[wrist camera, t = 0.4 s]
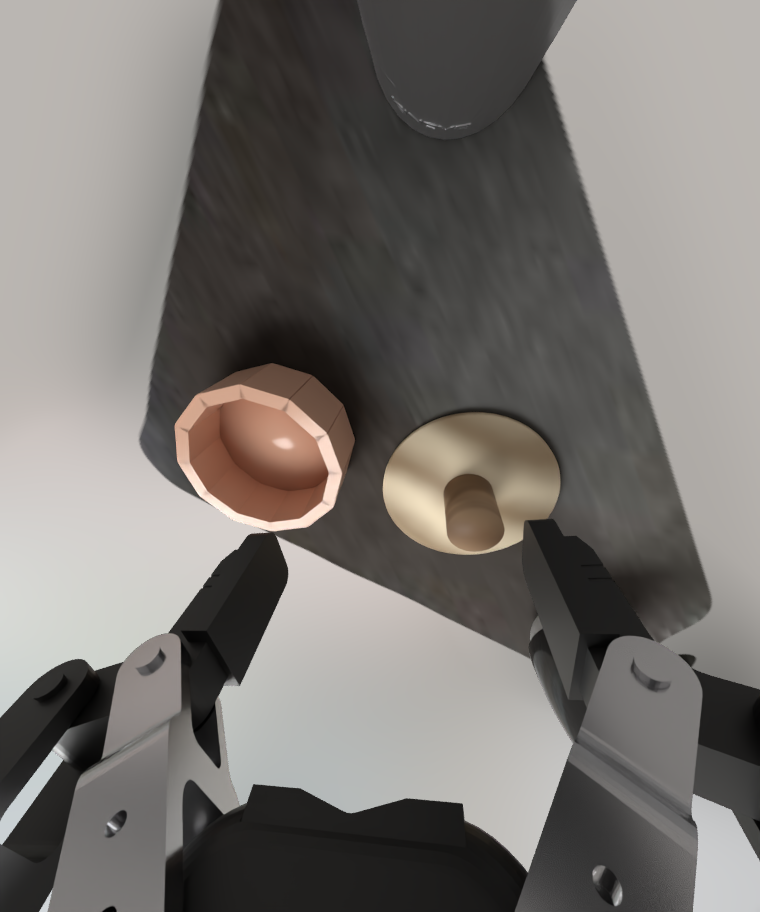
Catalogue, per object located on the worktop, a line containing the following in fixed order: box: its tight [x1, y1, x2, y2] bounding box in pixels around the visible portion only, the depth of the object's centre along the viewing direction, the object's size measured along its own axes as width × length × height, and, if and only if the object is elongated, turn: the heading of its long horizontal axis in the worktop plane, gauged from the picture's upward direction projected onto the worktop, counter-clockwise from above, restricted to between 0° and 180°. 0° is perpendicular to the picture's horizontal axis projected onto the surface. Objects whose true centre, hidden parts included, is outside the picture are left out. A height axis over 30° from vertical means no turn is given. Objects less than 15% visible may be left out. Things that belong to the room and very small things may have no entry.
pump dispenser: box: [529, 616, 587, 743], centre depth 32 cm, size 10×10×15 cm
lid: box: [383, 412, 561, 555], centre depth 29 cm, size 16×16×6 cm
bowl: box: [175, 363, 355, 531], centre depth 28 cm, size 13×13×6 cm
